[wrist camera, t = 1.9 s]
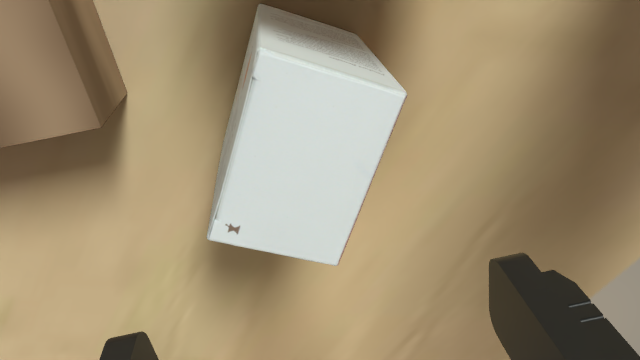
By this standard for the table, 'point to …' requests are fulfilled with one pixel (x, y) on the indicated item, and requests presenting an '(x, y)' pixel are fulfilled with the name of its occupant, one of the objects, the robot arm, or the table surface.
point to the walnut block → (54, 70)
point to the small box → (302, 139)
